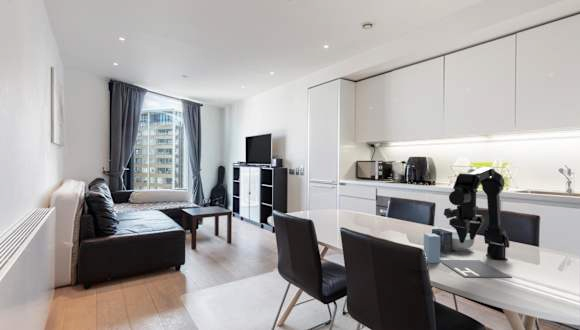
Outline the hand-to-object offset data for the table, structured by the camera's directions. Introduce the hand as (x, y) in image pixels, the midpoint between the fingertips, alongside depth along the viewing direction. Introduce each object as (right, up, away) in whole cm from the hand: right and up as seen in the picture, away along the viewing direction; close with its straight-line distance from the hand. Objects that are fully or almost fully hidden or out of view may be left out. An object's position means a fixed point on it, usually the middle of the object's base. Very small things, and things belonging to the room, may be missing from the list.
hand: (466, 241), depth 117 cm
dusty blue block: (-8, -13, +14) cm, 20 cm away
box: (+5, -13, +29) cm, 32 cm away
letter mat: (+5, -13, +5) cm, 15 cm away
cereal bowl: (+15, -13, +34) cm, 39 cm away
